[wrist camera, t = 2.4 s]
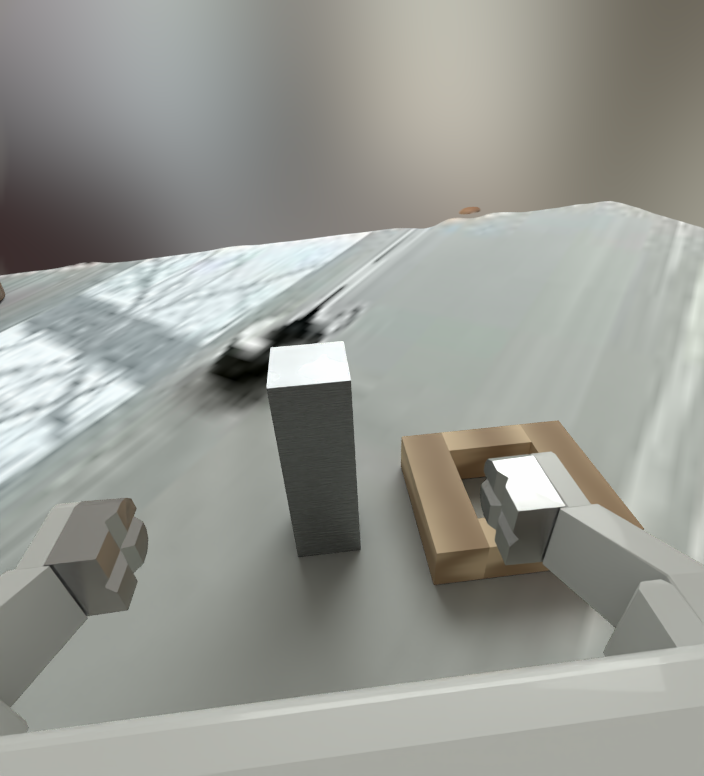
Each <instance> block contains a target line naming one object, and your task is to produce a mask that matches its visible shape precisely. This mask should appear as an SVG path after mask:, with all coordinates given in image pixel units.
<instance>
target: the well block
mask: <svg viewBox="0 0 704 776" xmlns="http://www.w3.org/2000/svg"><path fill="white" fill-rule="evenodd" d="M542 452H553V453H554V454H556V456H557V457H558V458H559V460H560V461H561V463H562V464H563V466H564V467H565V468H566V470H567V471H568V473H569V474H570V475H571V477H572V478H573V480H574V481H575V482H576V484H577V485H578V487H579V488H580V490H581V491H582V492H583V494H584V495H585V497H586V498H587V499H588V501H589V502H590V504H599V505H600V506H602V507H604V508H606V509H607V510H609V511H611V512H613V513H614V514H616V515H618V516H620V517H621V518H623V519H625V520H626V521H628V522H630V523H632V524H633V525H635V526H637V527H639V528H640V529H642V530H644V528H643V527H642V525H641V524H640V523H639V522H638V520H637V519H636V518H635V517H634V515H633V514H632V513H631V512H630V510H629V509H628V508H627V506H626V505H625V504H624V503H623V501H622V500H621V499H620V498H619V496H618V495H617V494H616V493H615V491H614V490H613V489H612V488H611V486H610V485H609V484H608V482H607V481H606V480H605V479H604V477H603V476H602V475H601V474H600V472H599V471H598V470H597V469H596V467H595V466H594V465H593V464H592V462H591V461H590V460H589V458H588V457H587V456H586V455H585V453H584V452H583V451H582V450H581V448H580V447H579V446H578V445H577V443H576V442H575V441H574V440H573V438H572V437H571V436H570V434H569V433H568V432H567V431H566V429H565V428H564V427H563V426H562V424H561V423H560V422H559V421H549V422H539V423H529V424H520V425H510V426H500V427H491V428H481V429H472V430H462V431H452V432H443V433H433V434H423V435H414V436H404V437H402V444H401V468H402V472H403V475H404V479H405V482H406V486H407V490H408V493H409V497H410V501H411V504H412V508H413V511H414V515H415V519H416V522H417V526H418V529H419V533H420V537H421V540H422V544H423V548H424V551H425V555H426V558H427V562H428V566H429V569H430V573H431V576H432V580H433V584H434V585H437V584H445V583H453V582H461V581H469V580H477V579H485V578H493V577H501V576H509V575H517V574H525V573H533V572H541V571H550V570H549V569H548V568H547V567H545V566H544V565H543V564H542V563H543V562H537V563H526V564H515V565H505V563H504V561H503V559H502V556H501V554H500V552H499V550H498V547H497V545H496V543H495V540H494V539H495V534H496V530H495V529H494V528H492V527H491V526H490V525H488V524H487V522H486V519H485V518H479V519H478V518H477V516H476V513H475V511H474V509H473V506H472V504H471V501H470V499H469V497H468V494H467V492H466V490H465V487H464V485H463V482H462V480H461V479H467V478H476V477H485V476H486V475H485V473H484V466H485V462H486V461H487V459H491V458H499V457H508V456H516V455H525V454H528V455H529V454H533V453H542Z"/></svg>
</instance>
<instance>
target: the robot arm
mask: <svg viewBox="0 0 704 776" xmlns="http://www.w3.org/2000/svg"><path fill="white" fill-rule="evenodd" d="M484 473H485V475H486V477H487V479H486V480H485V481H484V482H483V483H482V484H481V492H480V498H481V507H482V510H483V514H484V517H485V519H486V522H487V524H488V525H490V526H491V527H492V528H494V529H495V530H496V534H495V539H494V540H495V543H496V545H497V547H498V550H499V552H500V554H501V556H502V559H503V561H504V563H505V565H515V564H526V563H537V562H543V563H542V564H543V565H544V566H545V567H547V568H548V569H549V570H550V571H551V572H552V573H553V574H555V575H556V576H557V577H558V578H559V579H560V580H561V581H563V582H564V583H565V584H566V585H567V586H568V587H569V588H571V589H572V590H573V591H574V592H575V593H576V594H577V595H579V596H580V597H581V598H582V599H583V600H584V601H585V602H587V603H588V604H589V605H590V606H591V607H592V608H593V609H595V610H596V611H597V612H598V613H599V614H600V615H601V616H603V617H604V618H605V619H606V620H607V621H608V622H609V623H611V624H612V625H613V626H614V627H615V630H614V632H613V634H612V635H611V637H610V639H609V641H608V643H607V645H606V647H605V649H604V651H603V653H604V655H605V657H599V658H592V659H584V660H576V661H569V662H561V663H553V664H546V665H538V666H530V667H523V668H515V669H507V670H500V671H492V672H485V673H477V674H469V675H462V676H454V677H446V678H439V679H431V680H423V681H416V682H408V683H400V684H393V685H385V686H378V687H370V688H362V689H355V690H347V691H339V692H332V693H324V694H316V695H309V696H301V697H294V698H286V699H278V700H271V701H263V702H256V703H248V704H240V705H233V706H225V707H218V708H210V709H202V710H195V711H187V712H180V713H172V714H164V715H157V716H149V717H142V718H134V719H126V720H119V721H111V722H104V723H96V724H88V725H81V726H73V727H66V728H58V729H50V730H43V731H35V732H28V733H27V731H28V728H29V727H28V725H27V722H26V720H24V719H23V718H22V717H21V716H20V715H18V714H17V713H16V712H15V711H14V710H12V709H11V708H10V707H11V706H12V705H13V704H14V703H15V702H16V701H17V699H18V698H19V697H20V696H21V695H22V694H23V692H24V691H25V690H26V689H27V688H28V687H29V686H30V684H31V683H32V682H33V681H34V680H35V679H36V678H37V676H38V675H39V674H40V673H41V672H42V671H43V669H44V668H45V667H46V666H47V665H48V664H49V663H50V661H51V660H52V659H53V658H54V657H55V656H56V654H57V653H58V652H59V651H60V650H61V649H62V648H63V646H64V645H65V644H66V643H67V642H68V641H69V640H70V638H71V637H72V636H73V635H74V634H75V633H76V631H77V630H78V629H79V628H80V627H81V626H82V625H83V623H84V622H85V621H86V620H87V619H88V618H87V616H92V615H99V614H106V613H113V612H120V611H126V610H128V609H129V606H130V603H131V600H132V597H133V594H134V591H135V588H136V585H137V582H138V581H137V579H136V577H135V575H134V572H135V571H136V570H137V569H138V568H139V567H140V566H141V565H142V564H143V563H144V561H145V557H146V554H147V549H148V534H147V529H146V527H145V525H144V523H143V521H141V520H139V519H138V518H136V517H134V514H135V511H136V509H137V508H136V507H135V505H134V503H133V501H132V499H130V498H118V499H106V500H94V501H82V502H75V503H63V504H57V505H56V506H55V507H53V508H52V509H51V510H50V512H49V513H48V515H47V517H46V518H45V520H44V522H43V523H42V525H41V527H40V528H39V530H38V532H37V533H36V535H35V537H34V538H33V540H32V542H31V543H30V545H29V547H28V548H27V550H26V552H25V553H24V555H23V557H22V558H21V560H20V562H19V563H18V565H17V567H16V569H15V570H8V571H6V572H5V573H4V574H2V575H1V576H0V776H704V565H703V564H701V563H699V562H698V561H696V560H694V559H692V558H691V557H689V556H687V555H685V554H684V553H682V552H680V551H678V550H677V549H675V548H673V547H672V546H670V545H668V544H666V543H665V542H663V541H661V540H659V539H658V538H656V537H654V536H652V535H651V534H649V533H647V532H646V531H644V530H642V529H640V528H639V527H637V526H635V525H633V524H632V523H630V522H628V521H626V520H625V519H623V518H621V517H620V516H618V515H616V514H614V513H613V512H611V511H609V510H607V509H606V508H604V507H602V506H600V505H599V504H590V502H589V501H588V499H587V498H586V497H585V495H584V494H583V492H582V491H581V490H580V488H579V487H578V485H577V484H576V482H575V481H574V480H573V478H572V477H571V475H570V474H569V473H568V471H567V470H566V468H565V467H564V466H563V464H562V463H561V461H560V460H559V458H558V457H557V456H556V454H554V453H553V452H542V453H533V454H529V455H528V454H525V455H516V456H508V457H499V458H491V459H487V461H486V462H485V466H484Z"/></svg>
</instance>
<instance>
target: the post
mask: <svg viewBox="0 0 704 776" xmlns="http://www.w3.org/2000/svg"><path fill="white" fill-rule="evenodd" d="M267 394H268V399H269V404H270V409H271V415H272V420H273V425H274V431H275V436H276V441H277V447H278V452H279V457H280V463H281V468H282V473H283V478H284V484H285V489H286V494H287V500H288V505H289V510H290V516H291V521H292V526H293V531H294V537H295V542H296V547H297V553H298V557H303V556H311V555H319V554H328V553H336V552H345V551H353V550H361V547H360V530H359V512H358V495H357V478H356V461H355V444H354V426H353V409H352V392H351V379H350V373H349V368H348V362H347V357H346V352H345V346H344V341H340V342H329V343H318V344H307V345H296V346H285V347H274V348H271V350H270V360H269V369H268V379H267Z"/></svg>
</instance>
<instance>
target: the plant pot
mask: <svg viewBox="0 0 704 776" xmlns="http://www.w3.org/2000/svg"><path fill="white" fill-rule="evenodd" d="M4 297H5V292H4V289H3V287H2V285H1V283H0V301H1V300H2V299H3V298H4Z"/></svg>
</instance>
